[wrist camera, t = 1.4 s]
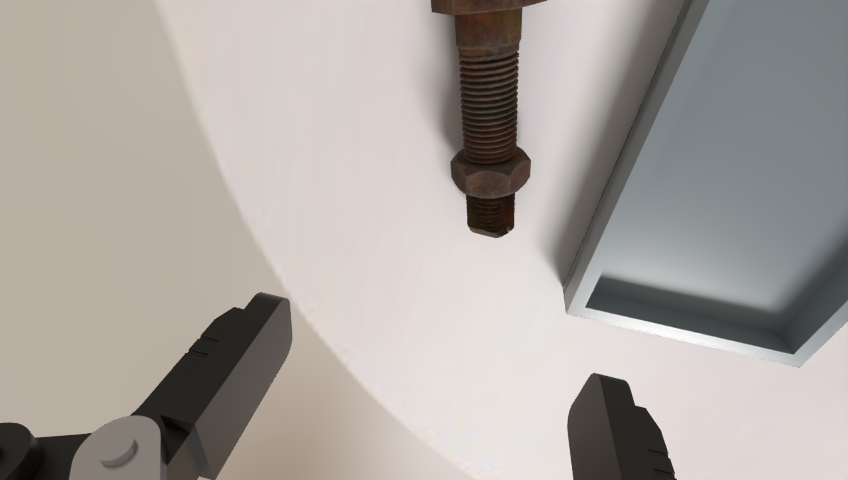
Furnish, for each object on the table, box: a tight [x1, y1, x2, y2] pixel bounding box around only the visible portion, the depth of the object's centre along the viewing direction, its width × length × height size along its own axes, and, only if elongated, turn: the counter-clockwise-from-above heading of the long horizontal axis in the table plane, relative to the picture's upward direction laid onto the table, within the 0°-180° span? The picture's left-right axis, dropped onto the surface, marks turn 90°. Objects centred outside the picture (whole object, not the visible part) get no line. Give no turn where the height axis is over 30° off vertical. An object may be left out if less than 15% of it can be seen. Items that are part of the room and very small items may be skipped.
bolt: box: [431, 0, 547, 238], centre depth 24 cm, size 6×5×15 cm
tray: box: [563, 0, 848, 368], centre depth 23 cm, size 16×24×3 cm, turn 174°
